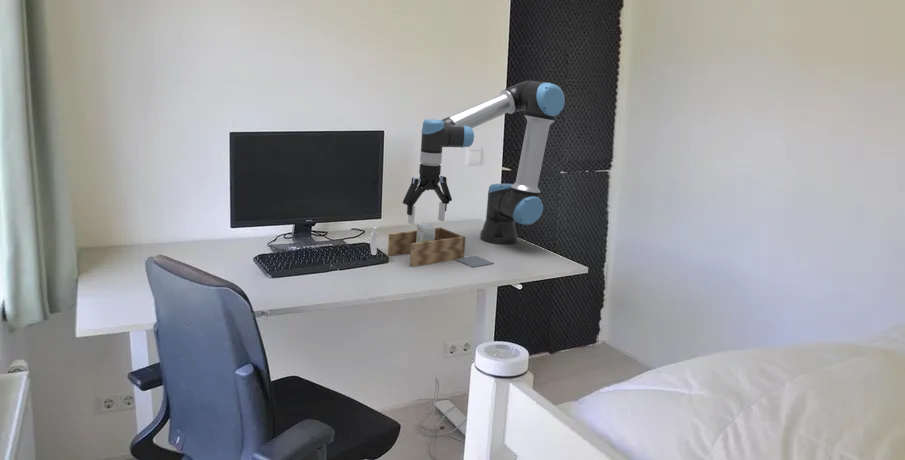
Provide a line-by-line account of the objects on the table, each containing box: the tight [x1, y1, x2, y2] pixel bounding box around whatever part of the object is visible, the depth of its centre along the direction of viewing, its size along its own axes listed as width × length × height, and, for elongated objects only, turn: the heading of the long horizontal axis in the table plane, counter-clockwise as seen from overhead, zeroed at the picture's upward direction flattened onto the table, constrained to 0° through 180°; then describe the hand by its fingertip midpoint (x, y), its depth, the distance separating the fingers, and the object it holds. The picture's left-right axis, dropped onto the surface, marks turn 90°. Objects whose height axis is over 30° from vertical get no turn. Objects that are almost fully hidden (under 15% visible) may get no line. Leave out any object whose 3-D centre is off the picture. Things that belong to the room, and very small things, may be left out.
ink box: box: [416, 222, 436, 243], centre depth 258 cm, size 9×5×12 cm, turn 18°
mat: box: [454, 255, 494, 269], centre depth 258 cm, size 10×10×1 cm
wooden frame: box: [387, 226, 466, 267], centre depth 259 cm, size 24×15×8 cm, turn 129°
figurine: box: [364, 225, 380, 255], centre depth 252 cm, size 9×9×12 cm
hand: (426, 222), depth 256 cm, fingers open, 13 cm apart
